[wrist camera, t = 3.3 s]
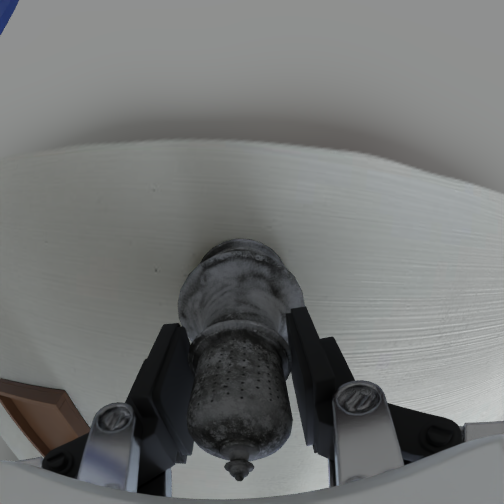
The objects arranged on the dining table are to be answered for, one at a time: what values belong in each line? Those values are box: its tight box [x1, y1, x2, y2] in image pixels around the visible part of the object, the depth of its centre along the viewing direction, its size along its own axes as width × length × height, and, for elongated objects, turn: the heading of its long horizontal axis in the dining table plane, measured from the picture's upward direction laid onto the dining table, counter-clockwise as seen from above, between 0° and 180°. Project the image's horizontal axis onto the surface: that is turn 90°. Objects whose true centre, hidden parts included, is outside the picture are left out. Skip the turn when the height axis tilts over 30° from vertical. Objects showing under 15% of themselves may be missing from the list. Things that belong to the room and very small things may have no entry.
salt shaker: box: [178, 239, 305, 481], centre depth 11 cm, size 6×6×12 cm
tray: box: [0, 379, 90, 458], centre depth 21 cm, size 23×11×2 cm, turn 9°
